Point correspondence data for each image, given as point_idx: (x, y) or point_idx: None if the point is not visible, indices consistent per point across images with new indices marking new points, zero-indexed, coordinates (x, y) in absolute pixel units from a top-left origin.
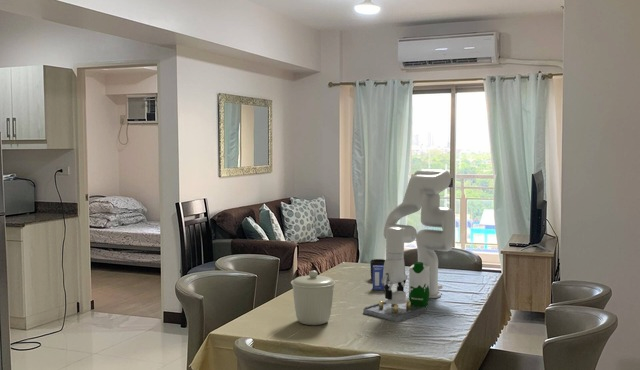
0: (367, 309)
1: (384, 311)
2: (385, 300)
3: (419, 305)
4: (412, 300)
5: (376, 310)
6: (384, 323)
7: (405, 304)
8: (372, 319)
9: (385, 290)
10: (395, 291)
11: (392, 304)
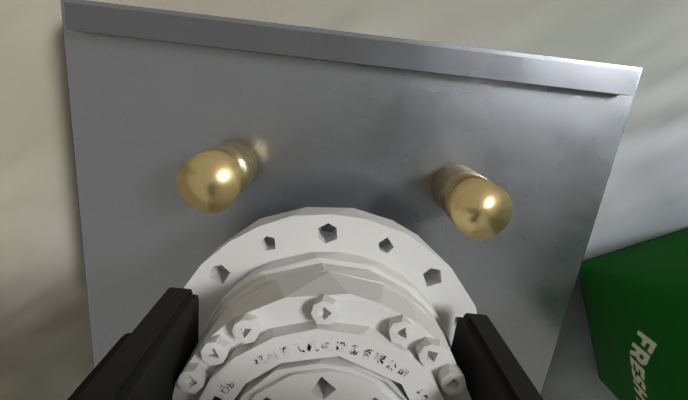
0: (74, 62)
1: (160, 256)
2: (206, 259)
3: (605, 360)
4: (621, 336)
5: (124, 172)
6: (14, 347)
7: (537, 275)
8: (14, 212)
9: (98, 380)
10: (379, 398)
11: (432, 190)
